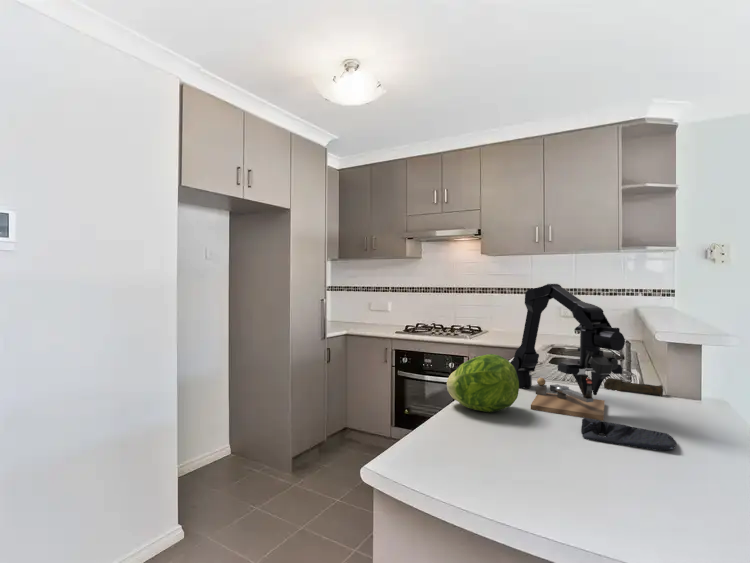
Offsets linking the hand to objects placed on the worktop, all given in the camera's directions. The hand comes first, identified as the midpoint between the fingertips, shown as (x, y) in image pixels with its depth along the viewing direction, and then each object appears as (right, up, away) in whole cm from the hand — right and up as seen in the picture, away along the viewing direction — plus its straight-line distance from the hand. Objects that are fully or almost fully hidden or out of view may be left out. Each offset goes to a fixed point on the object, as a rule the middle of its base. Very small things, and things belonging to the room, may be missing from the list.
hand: (589, 395), depth 134 cm
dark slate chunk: (0, -7, -20) cm, 21 cm away
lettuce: (-33, -6, +4) cm, 34 cm away
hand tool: (+29, -6, +25) cm, 39 cm away
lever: (-2, -3, +8) cm, 8 cm away
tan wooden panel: (-4, -6, +7) cm, 10 cm away
